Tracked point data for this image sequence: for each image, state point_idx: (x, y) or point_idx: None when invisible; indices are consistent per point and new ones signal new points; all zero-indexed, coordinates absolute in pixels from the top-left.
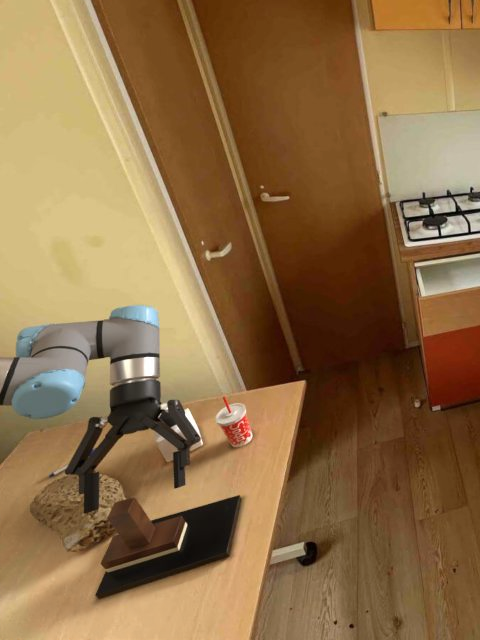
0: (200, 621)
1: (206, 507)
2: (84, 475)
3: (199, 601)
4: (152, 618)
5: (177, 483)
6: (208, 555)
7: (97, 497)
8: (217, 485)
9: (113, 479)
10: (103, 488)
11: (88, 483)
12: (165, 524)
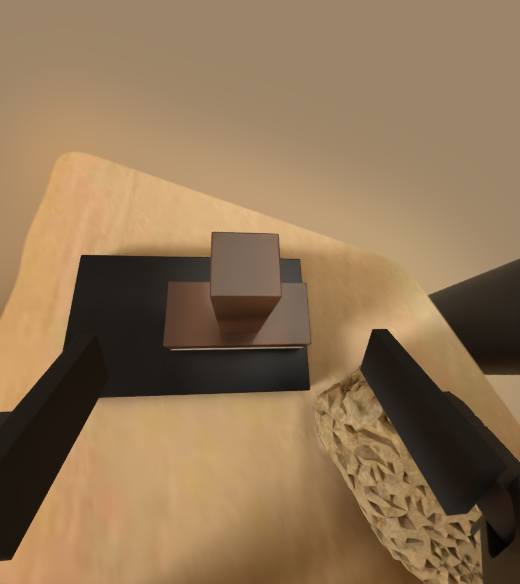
0: (128, 178)
1: (135, 385)
2: (504, 463)
3: (133, 206)
4: (201, 208)
5: (73, 345)
6: (115, 261)
7: (380, 394)
8: (130, 468)
9: (410, 569)
10: (413, 517)
11: (445, 416)
12: (198, 333)
